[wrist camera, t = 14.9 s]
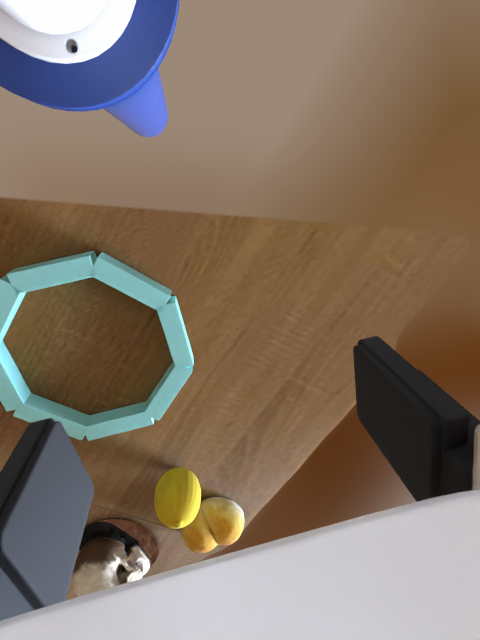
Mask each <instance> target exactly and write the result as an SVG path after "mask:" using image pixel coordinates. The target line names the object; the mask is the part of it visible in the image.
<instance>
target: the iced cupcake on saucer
mask: <svg viewBox="0 0 480 640" xmlns="http://www.w3.org/2000/svg"><path fill="white" fill-rule="evenodd" d="M127 524H128V525H127ZM156 539H157V538H155V536H154V535H153V534H152V533H151V531H149V530H148V529H147V528H146V527H145V526H142V525H140V524H139V523H138V524H137V523H135V522H132V521H130V520H121V519H108V520H102V521H97V522H94V523H91V524H89V525H87V526H85V528H84V532H83V536H82V539H81V543H80V547H79V551H78V554H77V558H76V562H75V566H74V570H73V573H72V577H71V580H72V585H73V589H74V592H75V594H76V596H77V597H80V596H83V595H87V594H90V593H93V592H97V591H100V590H104V589H107V588H111V587H114V586H118V585H121V584H124V583H128V582H131V581H135V580H138V579H142V576H143V575H144V574H145V573H146V572H147V571H148V570H149V567H151V565H152V564H153V563H154V562H155V560H156V558H157V556H158V550H159V549H158V543H157V540H156ZM140 546H141V547H140Z"/></svg>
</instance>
